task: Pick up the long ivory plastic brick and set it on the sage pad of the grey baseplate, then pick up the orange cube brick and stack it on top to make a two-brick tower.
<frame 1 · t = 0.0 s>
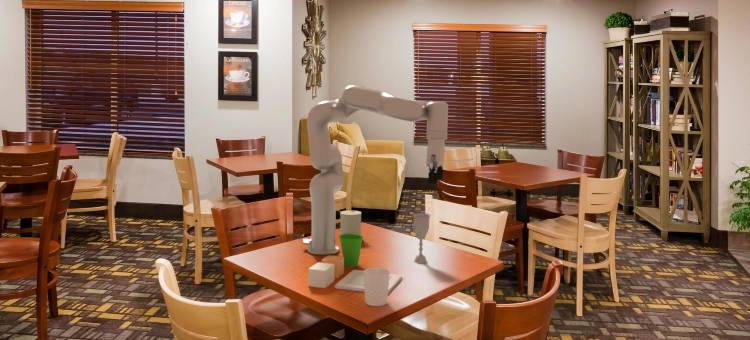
hand: (435, 181, 227), 31 cm above the table, tool pointing down, fingers open, 9 cm apart
cup: (350, 265, 227), on the table
top brick: (332, 275, 215), on the table
chalice: (420, 261, 233), on the table
baseplate: (369, 282, 207), on the table
white cup: (376, 303, 189), on the table
bottom brick: (321, 283, 206), on the table
can: (350, 239, 266), on the table
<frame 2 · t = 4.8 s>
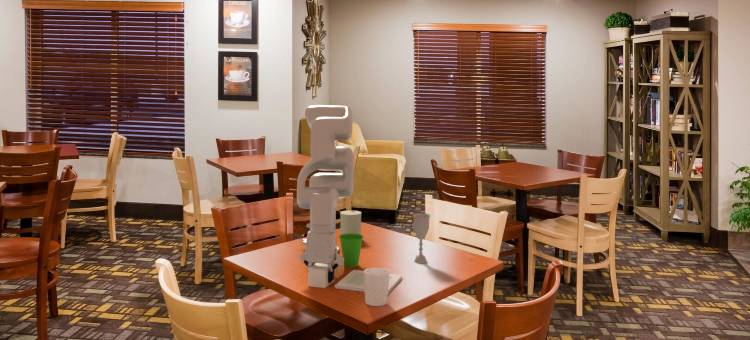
hand: (321, 280, 206), 1 cm above the table, tool pointing down, fingers closed on bottom brick, 6 cm apart
bottom brick: (321, 283, 206), on the table, touching gripper
everything else where it was.
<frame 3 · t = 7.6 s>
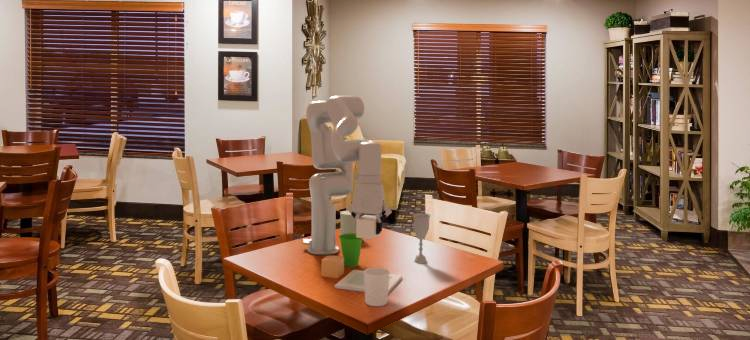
hand: (368, 232, 205), 18 cm above the table, tool pointing down, fingers closed on bottom brick, 5 cm apart
bottom brick: (368, 235, 205), point 17 cm above the table, touching gripper
everything else where it was.
when the fingers open (4 cm above the table, at t = 10.8 s): bottom brick drops 1 cm, resting on baseplate.
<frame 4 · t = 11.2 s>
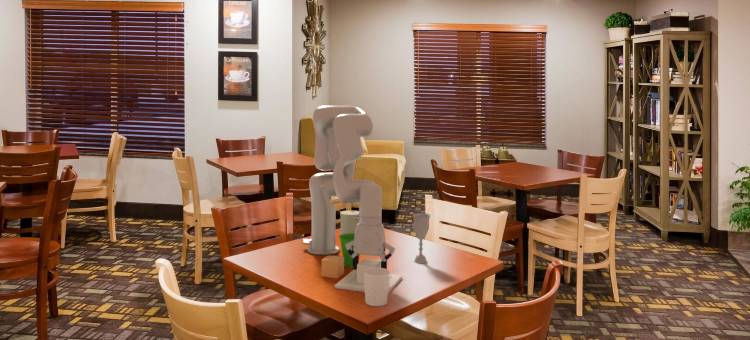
hand: (369, 270, 206), 4 cm above the table, tool pointing down, fingers open, 9 cm apart
bottom brick: (369, 279, 207), point 1 cm above the table, touching baseplate
everything else where it was.
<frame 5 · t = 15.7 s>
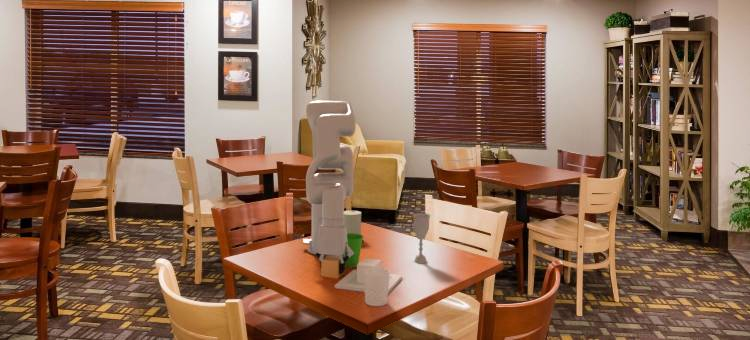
hand: (332, 271, 215), 1 cm above the table, tool pointing down, fingers closed on top brick, 6 cm apart
top brick: (332, 274, 215), on the table, touching gripper
everything else where it was.
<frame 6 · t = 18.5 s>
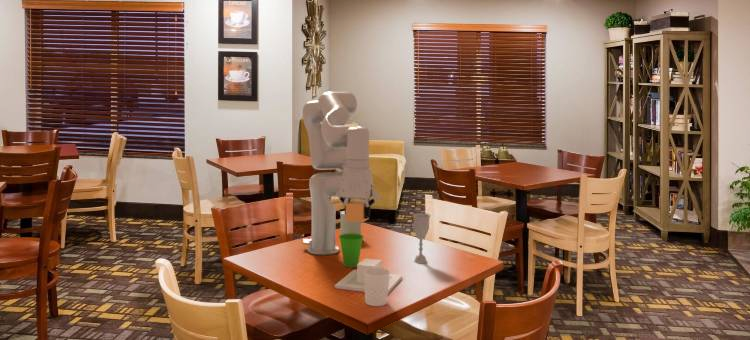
hand: (357, 216, 206), 22 cm above the table, tool pointing down, fingers closed on top brick, 6 cm apart
top brick: (357, 220, 207), point 21 cm above the table, touching gripper
everything else where it was.
when the fingers open (10 cm above the table, at t = 21.6 s): top brick drops 1 cm, resting on bottom brick.
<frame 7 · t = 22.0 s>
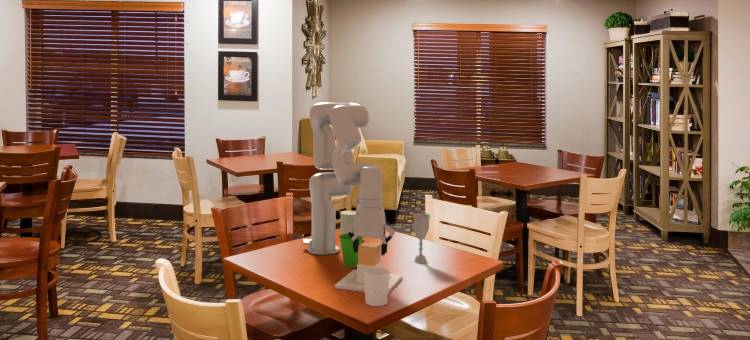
hand: (369, 253, 206), 10 cm above the table, tool pointing down, fingers open, 9 cm apart
top brick: (369, 262, 206), point 7 cm above the table, touching bottom brick
bottom brick: (369, 279, 207), point 1 cm above the table, touching baseplate, top brick
everything else where it was.
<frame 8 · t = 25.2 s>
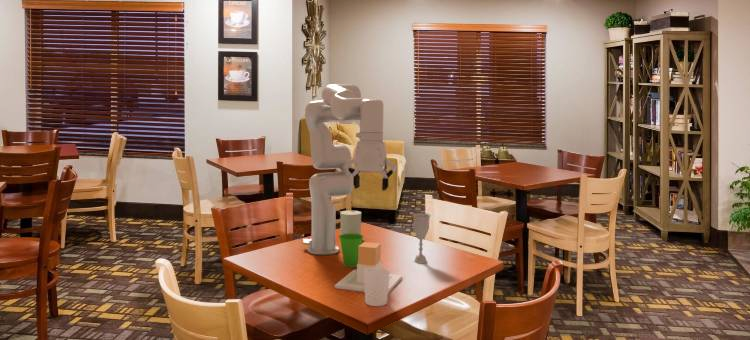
hand: (370, 188, 203), 32 cm above the table, tool pointing down, fingers open, 9 cm apart
nothing on the table moved.
at the end: bottom brick 0.1 cm off-centre on the baseplate, point 1.2 cm above the baseplate's base; top brick 0.1 cm off-centre on the baseplate, point 7.2 cm above the baseplate's base; top brick tilted 0° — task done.
